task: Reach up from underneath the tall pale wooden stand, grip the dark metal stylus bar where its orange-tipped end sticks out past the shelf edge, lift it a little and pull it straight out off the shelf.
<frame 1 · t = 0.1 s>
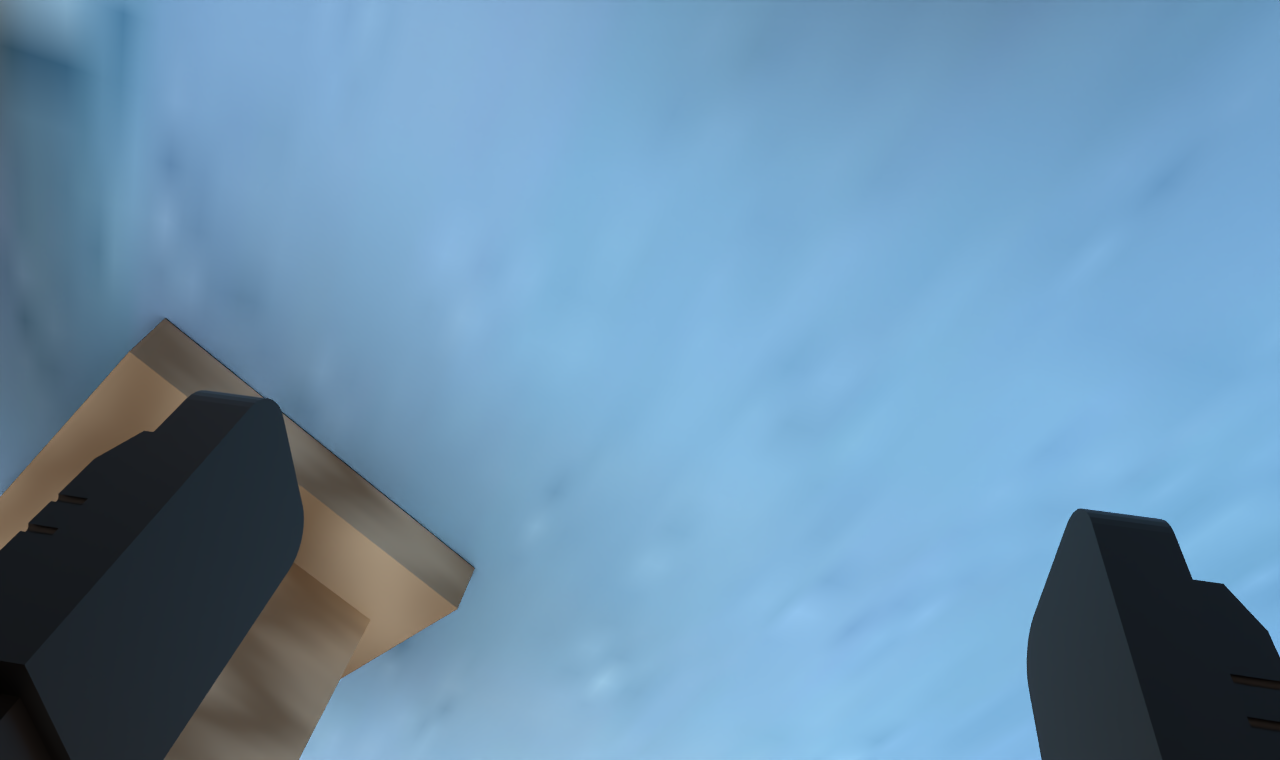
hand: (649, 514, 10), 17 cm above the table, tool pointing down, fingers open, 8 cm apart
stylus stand: (231, 531, 39), on the table
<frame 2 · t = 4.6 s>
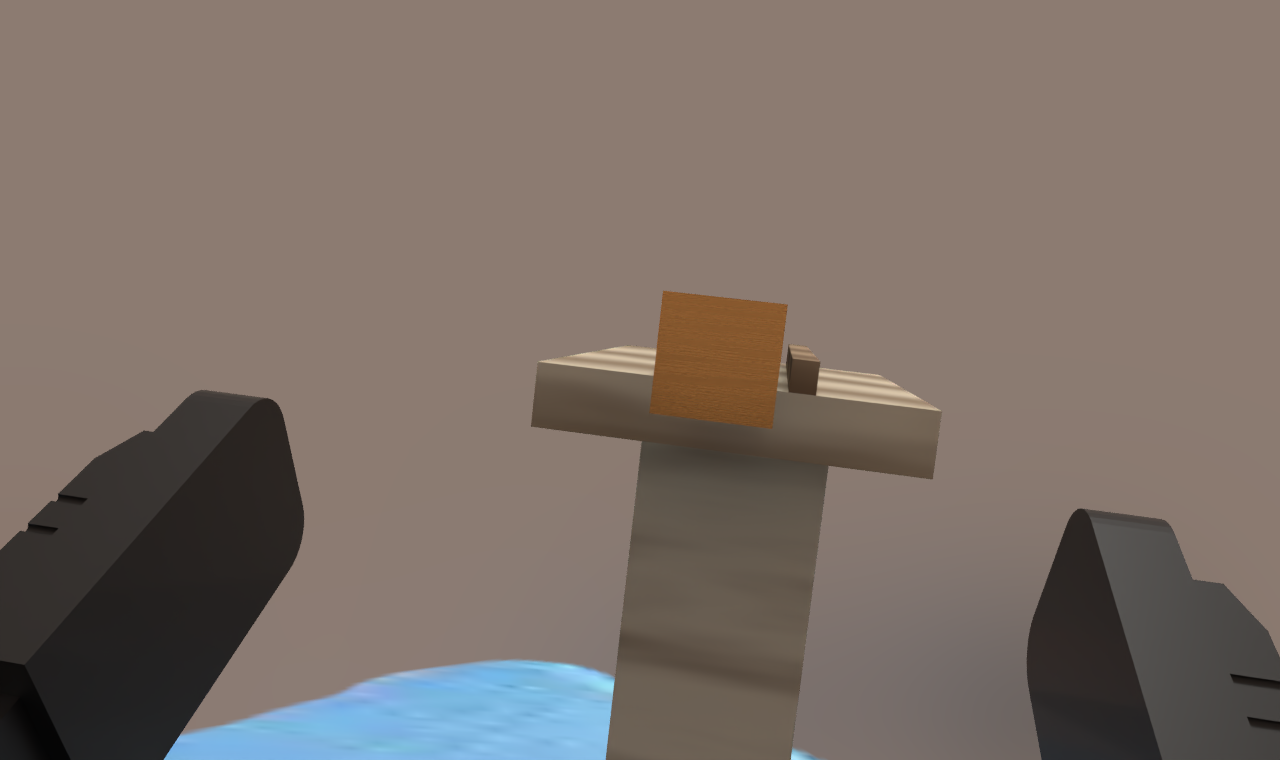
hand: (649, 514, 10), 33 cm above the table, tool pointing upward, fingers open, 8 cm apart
stylus bar: (738, 379, 32), point 33 cm above the table, touching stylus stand
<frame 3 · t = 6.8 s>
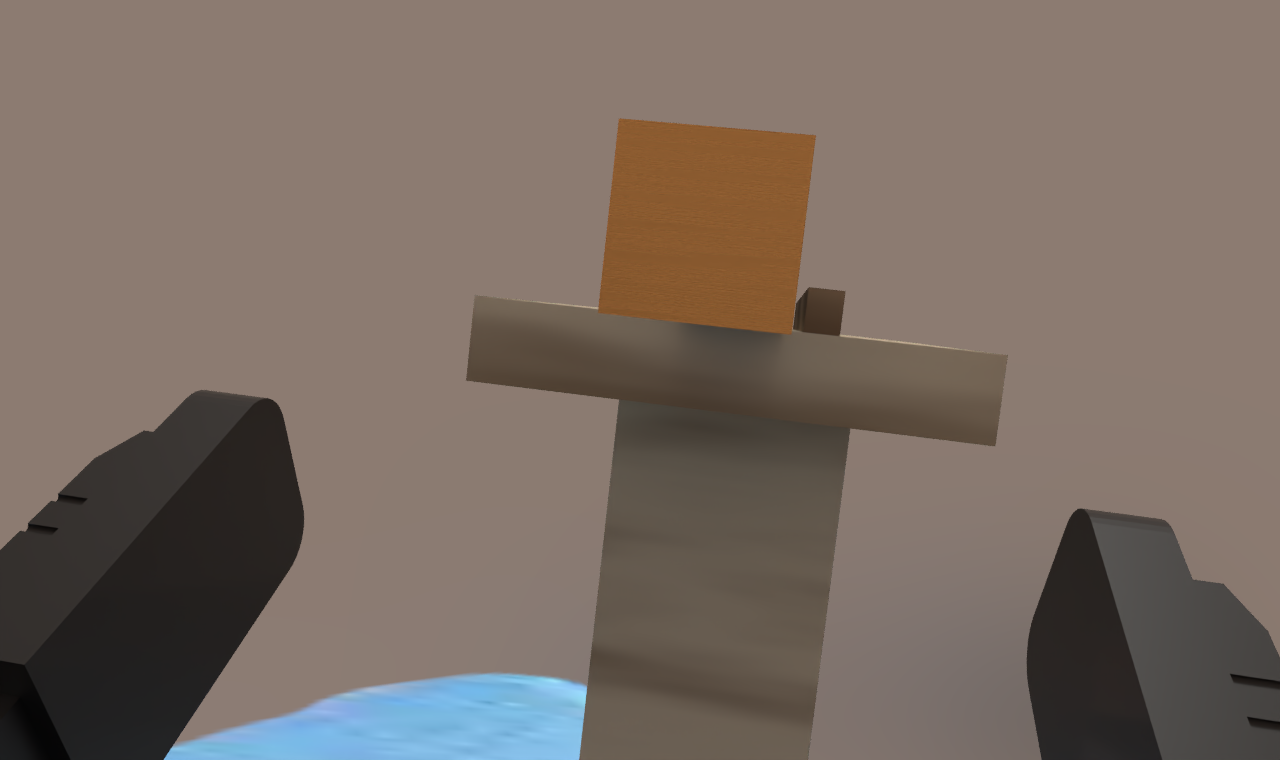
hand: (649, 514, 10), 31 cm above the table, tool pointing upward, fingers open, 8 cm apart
stylus bar: (737, 324, 25), point 33 cm above the table, touching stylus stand
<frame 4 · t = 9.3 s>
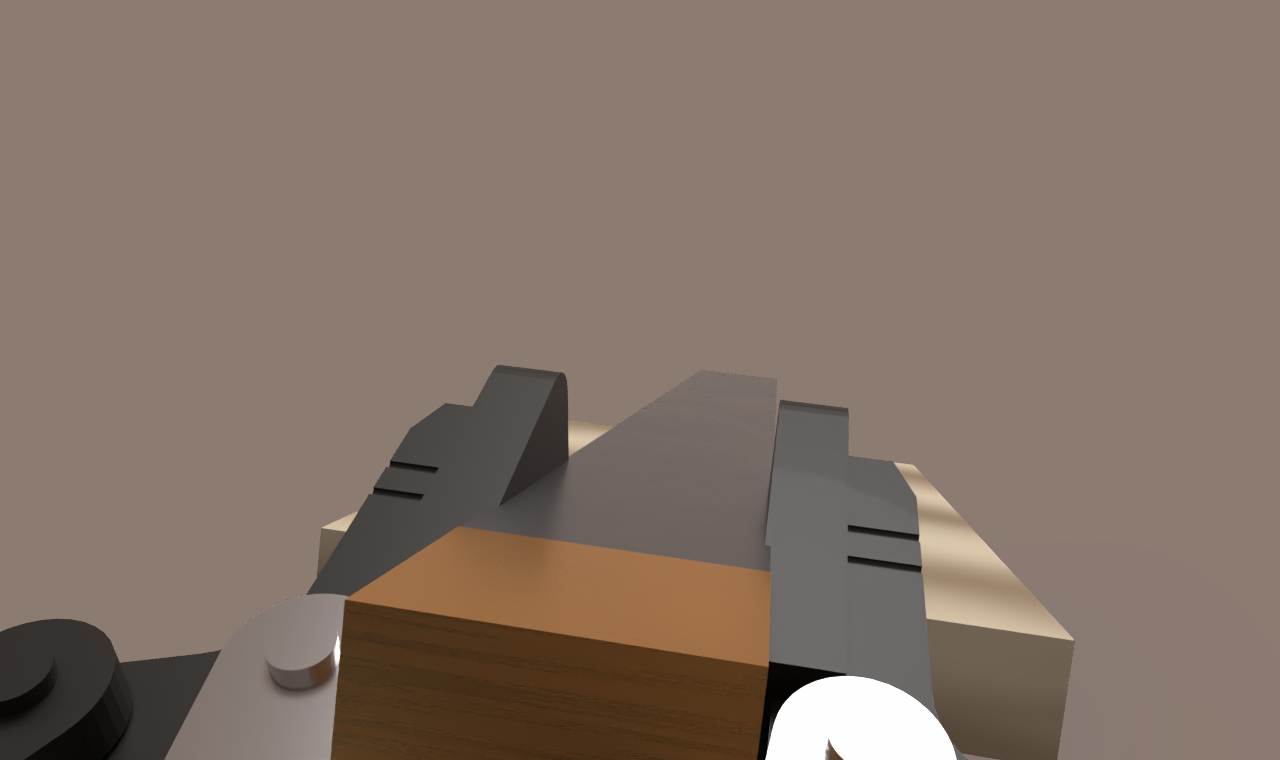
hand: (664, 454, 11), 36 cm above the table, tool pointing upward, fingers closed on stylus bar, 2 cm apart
stylus bar: (695, 539, 19), point 33 cm above the table, touching gripper, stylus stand
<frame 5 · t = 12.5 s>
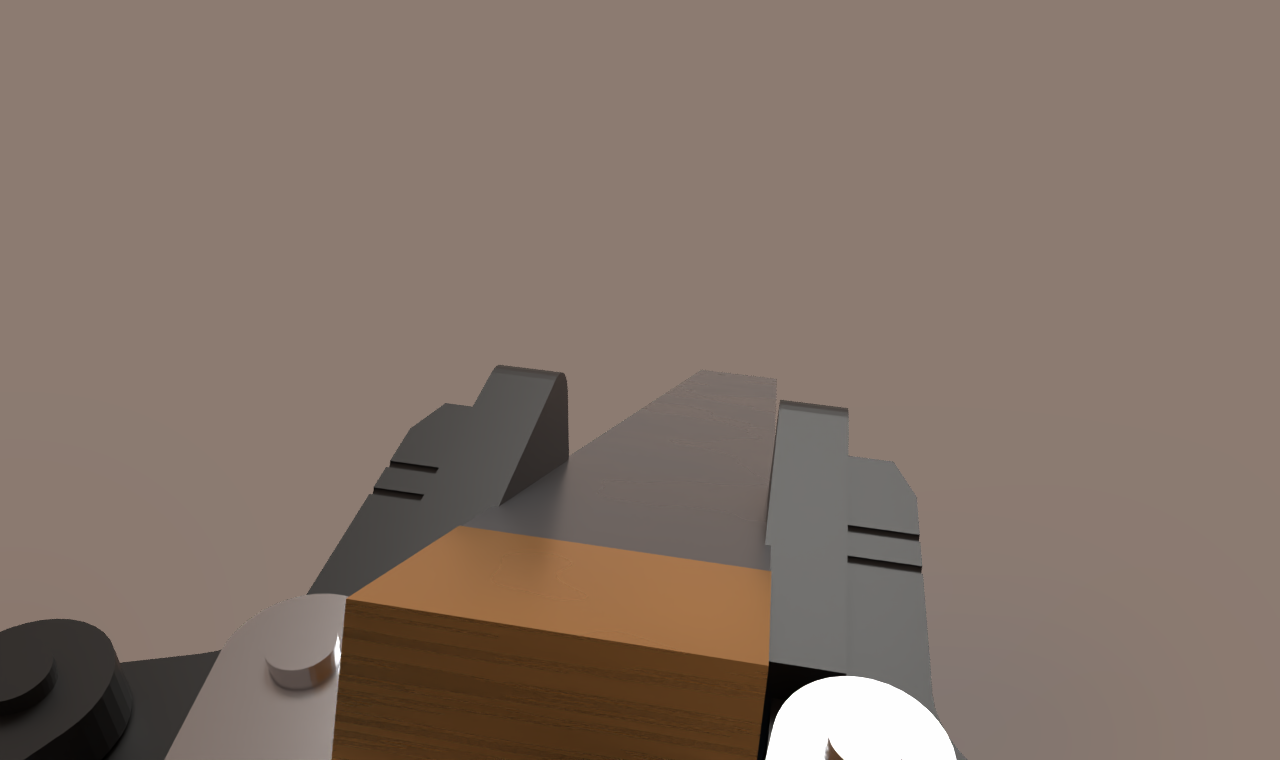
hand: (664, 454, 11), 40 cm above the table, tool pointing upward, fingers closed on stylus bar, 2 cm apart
stylus bar: (695, 539, 19), point 37 cm above the table, touching gripper
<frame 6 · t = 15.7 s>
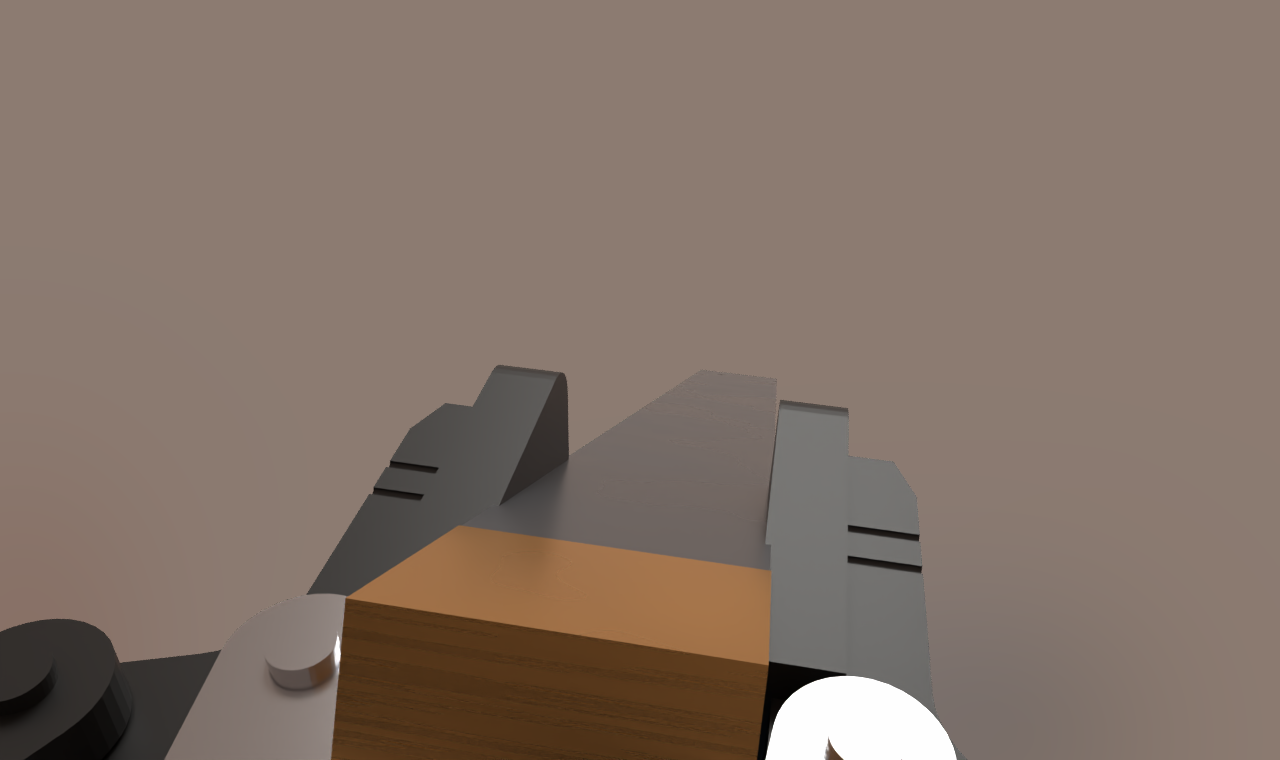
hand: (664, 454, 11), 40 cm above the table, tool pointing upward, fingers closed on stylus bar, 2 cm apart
stylus bar: (695, 538, 19), point 37 cm above the table, touching gripper
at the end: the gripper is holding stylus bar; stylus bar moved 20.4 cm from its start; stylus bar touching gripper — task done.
